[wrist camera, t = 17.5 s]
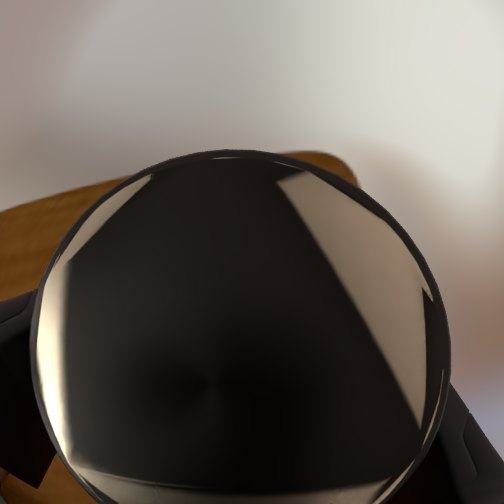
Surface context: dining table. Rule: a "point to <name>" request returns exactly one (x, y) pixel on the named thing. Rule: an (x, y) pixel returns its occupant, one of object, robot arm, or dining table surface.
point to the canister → (239, 339)
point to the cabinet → (2, 501)
